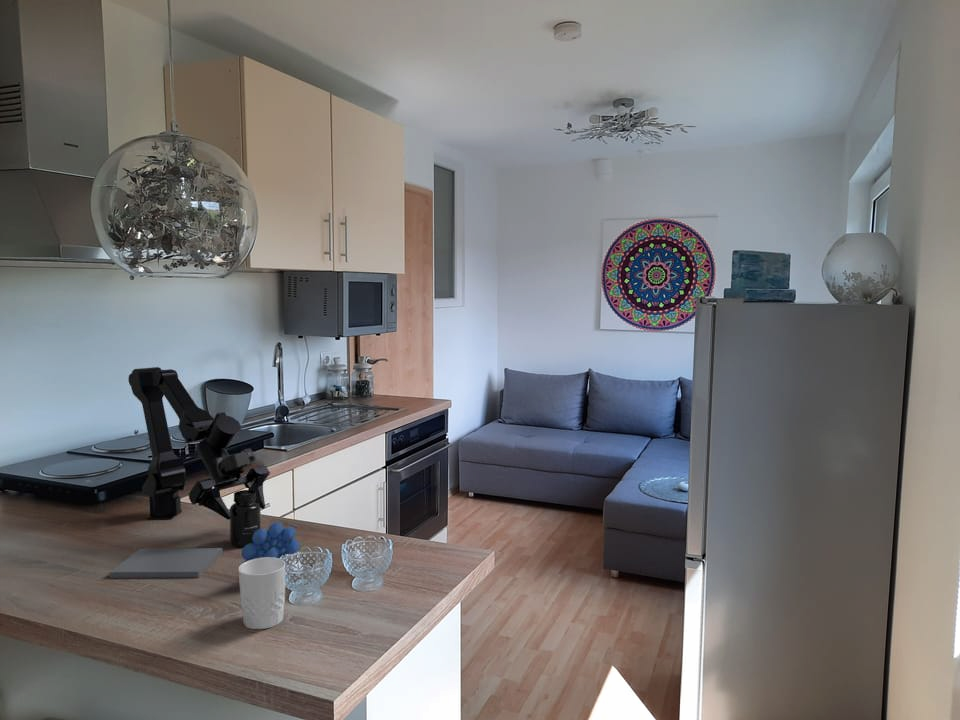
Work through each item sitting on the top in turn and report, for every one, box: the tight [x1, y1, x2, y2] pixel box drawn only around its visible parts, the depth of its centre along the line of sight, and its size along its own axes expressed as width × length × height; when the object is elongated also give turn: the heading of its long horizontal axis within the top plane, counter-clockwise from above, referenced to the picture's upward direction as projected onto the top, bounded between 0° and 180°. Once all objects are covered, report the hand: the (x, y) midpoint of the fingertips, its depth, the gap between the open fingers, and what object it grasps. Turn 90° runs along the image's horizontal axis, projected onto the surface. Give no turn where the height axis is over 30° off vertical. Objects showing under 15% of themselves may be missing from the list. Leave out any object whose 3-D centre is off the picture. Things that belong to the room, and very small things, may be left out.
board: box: [109, 547, 224, 579], centre depth 141 cm, size 18×13×1 cm
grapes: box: [241, 521, 301, 564], centre depth 133 cm, size 12×7×12 cm, turn 121°
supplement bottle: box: [229, 489, 262, 548], centre depth 154 cm, size 7×7×12 cm
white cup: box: [237, 557, 287, 630], centre depth 116 cm, size 8×8×10 cm
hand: (247, 513), depth 153 cm, fingers open, 9 cm apart
